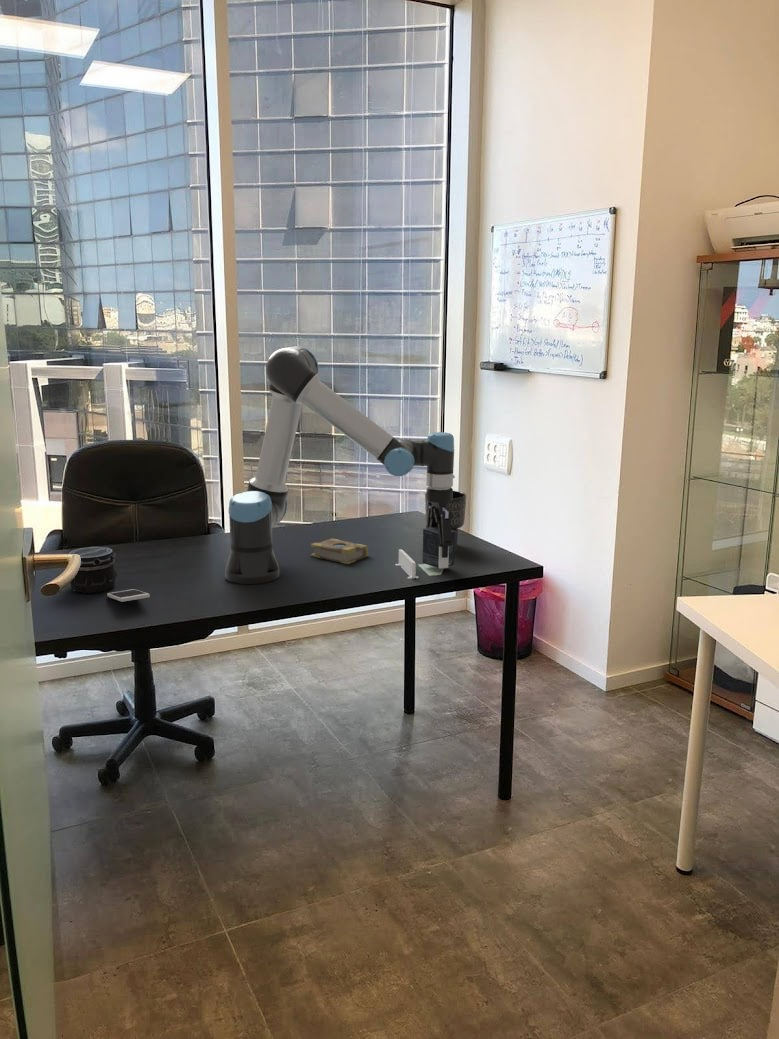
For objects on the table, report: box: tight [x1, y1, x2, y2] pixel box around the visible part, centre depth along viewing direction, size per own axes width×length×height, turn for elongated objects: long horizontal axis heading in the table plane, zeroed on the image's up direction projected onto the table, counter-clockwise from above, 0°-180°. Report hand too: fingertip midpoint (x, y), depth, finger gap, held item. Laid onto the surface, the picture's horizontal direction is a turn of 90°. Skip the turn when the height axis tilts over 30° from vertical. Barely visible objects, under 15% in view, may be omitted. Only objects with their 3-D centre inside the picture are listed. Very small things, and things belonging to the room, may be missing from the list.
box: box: [422, 527, 455, 569], centre depth 250 cm, size 8×6×11 cm
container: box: [68, 546, 118, 594], centre depth 233 cm, size 13×13×10 cm
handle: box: [394, 549, 420, 580], centre depth 248 cm, size 3×14×5 cm, turn 15°
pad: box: [418, 563, 445, 577], centre depth 251 cm, size 9×11×1 cm
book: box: [310, 538, 369, 565], centre depth 264 cm, size 15×11×5 cm
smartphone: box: [106, 588, 150, 603], centre depth 222 cm, size 7×15×1 cm, turn 32°
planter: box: [424, 490, 467, 553], centre depth 271 cm, size 13×13×18 cm
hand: (438, 562), depth 251 cm, fingers closed on box, 9 cm apart
